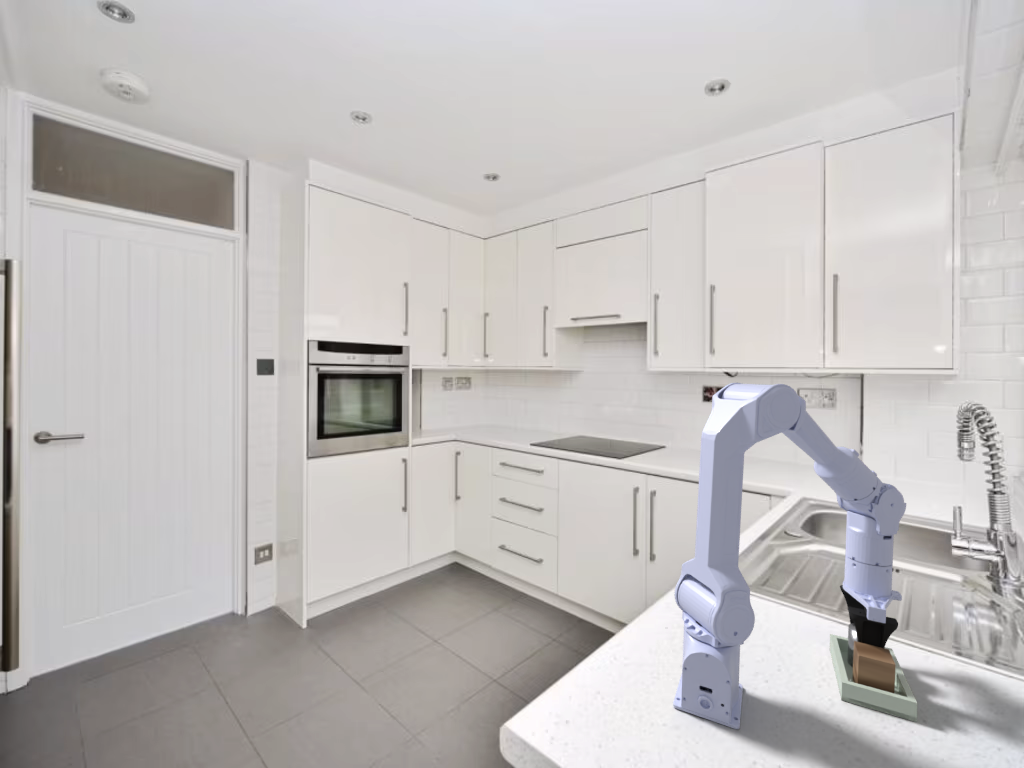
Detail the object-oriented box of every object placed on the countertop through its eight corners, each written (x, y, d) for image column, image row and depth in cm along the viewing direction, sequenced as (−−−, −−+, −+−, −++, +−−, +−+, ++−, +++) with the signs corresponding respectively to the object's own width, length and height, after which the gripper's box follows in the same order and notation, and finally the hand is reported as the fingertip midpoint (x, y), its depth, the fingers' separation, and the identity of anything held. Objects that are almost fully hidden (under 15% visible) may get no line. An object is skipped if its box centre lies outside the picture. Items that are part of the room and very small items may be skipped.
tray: (916, 722, 60) (917, 703, 60) (841, 700, 64) (842, 682, 64) (891, 664, 72) (891, 648, 72) (829, 649, 76) (830, 633, 76)
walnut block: (893, 705, 62) (895, 664, 62) (857, 694, 64) (858, 655, 64) (887, 687, 66) (888, 649, 66) (852, 678, 68) (854, 640, 68)
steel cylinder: (882, 677, 68) (883, 640, 68) (849, 668, 70) (850, 632, 70) (877, 663, 72) (878, 628, 72) (846, 655, 74) (847, 620, 74)
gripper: (915, 583, 62) (911, 683, 63) (890, 549, 75) (887, 632, 75) (851, 571, 66) (847, 666, 66) (837, 540, 78) (834, 620, 79)
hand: (865, 647), depth 71 cm, fingers open, 6 cm apart
